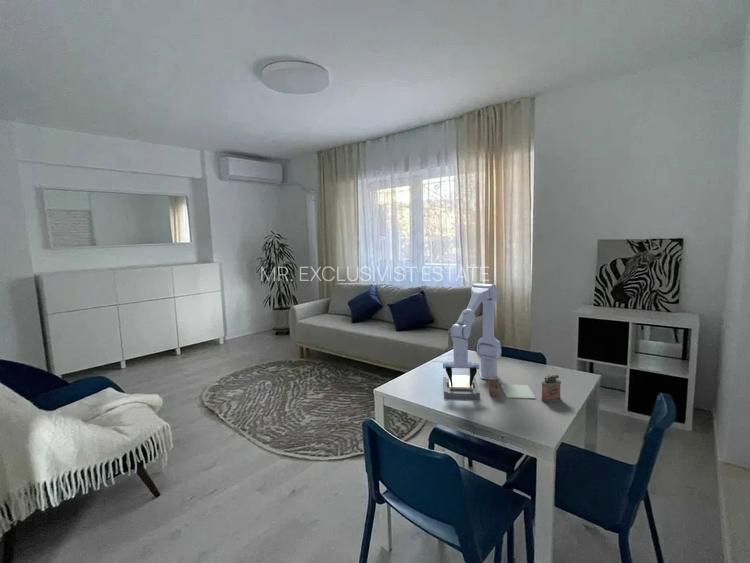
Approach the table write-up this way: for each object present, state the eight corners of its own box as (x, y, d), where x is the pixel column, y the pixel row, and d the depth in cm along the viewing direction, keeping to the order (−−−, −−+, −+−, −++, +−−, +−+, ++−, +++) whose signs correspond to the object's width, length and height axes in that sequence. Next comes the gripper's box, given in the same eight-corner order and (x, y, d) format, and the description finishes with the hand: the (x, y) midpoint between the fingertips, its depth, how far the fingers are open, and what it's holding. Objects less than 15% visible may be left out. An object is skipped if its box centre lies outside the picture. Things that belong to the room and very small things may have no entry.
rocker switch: (448, 376, 161) (448, 374, 160) (470, 377, 159) (470, 375, 159) (449, 388, 151) (449, 386, 151) (472, 389, 150) (472, 387, 150)
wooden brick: (488, 392, 152) (488, 376, 152) (496, 392, 152) (496, 376, 151) (490, 395, 149) (489, 379, 148) (498, 396, 149) (498, 379, 148)
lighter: (545, 403, 140) (545, 378, 139) (539, 399, 144) (539, 375, 143) (562, 400, 143) (563, 375, 141) (556, 396, 146) (556, 372, 145)
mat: (500, 385, 159) (500, 384, 159) (527, 386, 157) (527, 385, 157) (506, 398, 146) (506, 396, 146) (535, 399, 145) (535, 397, 144)
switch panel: (443, 382, 165) (443, 374, 164) (475, 383, 162) (475, 375, 162) (444, 397, 149) (444, 388, 148) (479, 398, 147) (479, 389, 146)
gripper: (442, 355, 147) (443, 388, 148) (480, 356, 145) (480, 389, 146) (442, 350, 154) (443, 381, 155) (478, 351, 152) (478, 382, 153)
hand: (461, 385), depth 151 cm, fingers open, 7 cm apart
